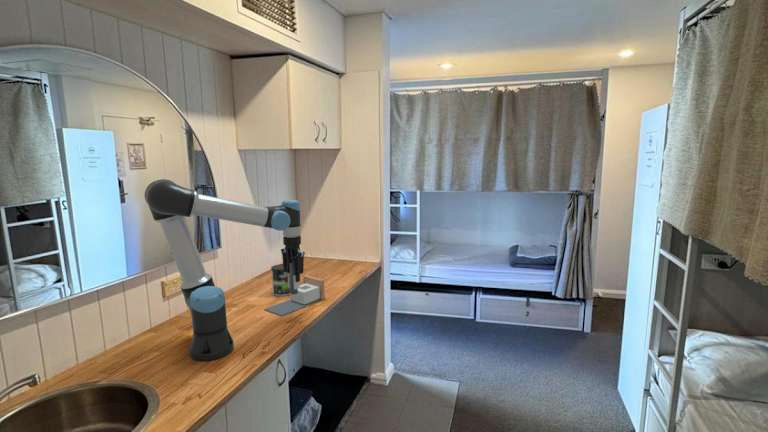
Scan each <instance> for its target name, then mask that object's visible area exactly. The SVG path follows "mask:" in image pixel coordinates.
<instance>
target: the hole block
mask: <svg viewBox="0 0 768 432" xmlns="http://www.w3.org/2000/svg"><path fill="white" fill-rule="evenodd" d="M290 299H291V300H292V301H295V302H298V303H301V304H304V305H305V304H307V303H310V302H313V301H315V300H318V299H320V287H318V286H315V285H311V284H308V283H305V284H304V283H302V284H300V288H298V294H290Z"/></svg>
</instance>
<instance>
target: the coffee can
mask: <svg viewBox="0 0 768 432" xmlns="http://www.w3.org/2000/svg"><path fill="white" fill-rule="evenodd" d="M270 269H271V282H272V284H271V285H272V295H273V296H277V297H284V296H288V295H289V296H290V295H291V293H290V288H288V279H287V272H286V271H284V269H283V263H280V264H275V265H273V266H271V267H270Z"/></svg>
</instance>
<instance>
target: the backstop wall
mask: <svg viewBox="0 0 768 432" xmlns="http://www.w3.org/2000/svg"><path fill="white" fill-rule="evenodd" d="M305 283H308V284H311V285H315V286H318V287H320V299H322V300H321V301H324V300H325V298H326V296H325V295H326V293H325V292H326V291H325V279H321V278H318V277H314V276H311V275H307V274H305V275H303V284H305ZM323 299H324V300H323Z"/></svg>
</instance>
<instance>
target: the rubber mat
mask: <svg viewBox="0 0 768 432" xmlns="http://www.w3.org/2000/svg"><path fill="white" fill-rule="evenodd" d="M324 300H325V299H323V300H322V299H318V300H315V301H313V302H310V303H307V304H305V305H304V304H301V303H298V302H295V301H292V300H291V298H290V299H288V300H285V301H282V302H280V303H277V304H274V305H271V306H269V307H266V308H264V311H266V312H269V313H272V314H274V315H277V316H279V317H284V316H287V315H290V314H292V313H294V312H297V311H299V310H302V309H303V307H304V308H306V306H307V307H308V305H309V306H311V304H312V305H314V304H316V303H319V302H322V301H324ZM313 303H314V304H313ZM301 308H302V309H301Z"/></svg>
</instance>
